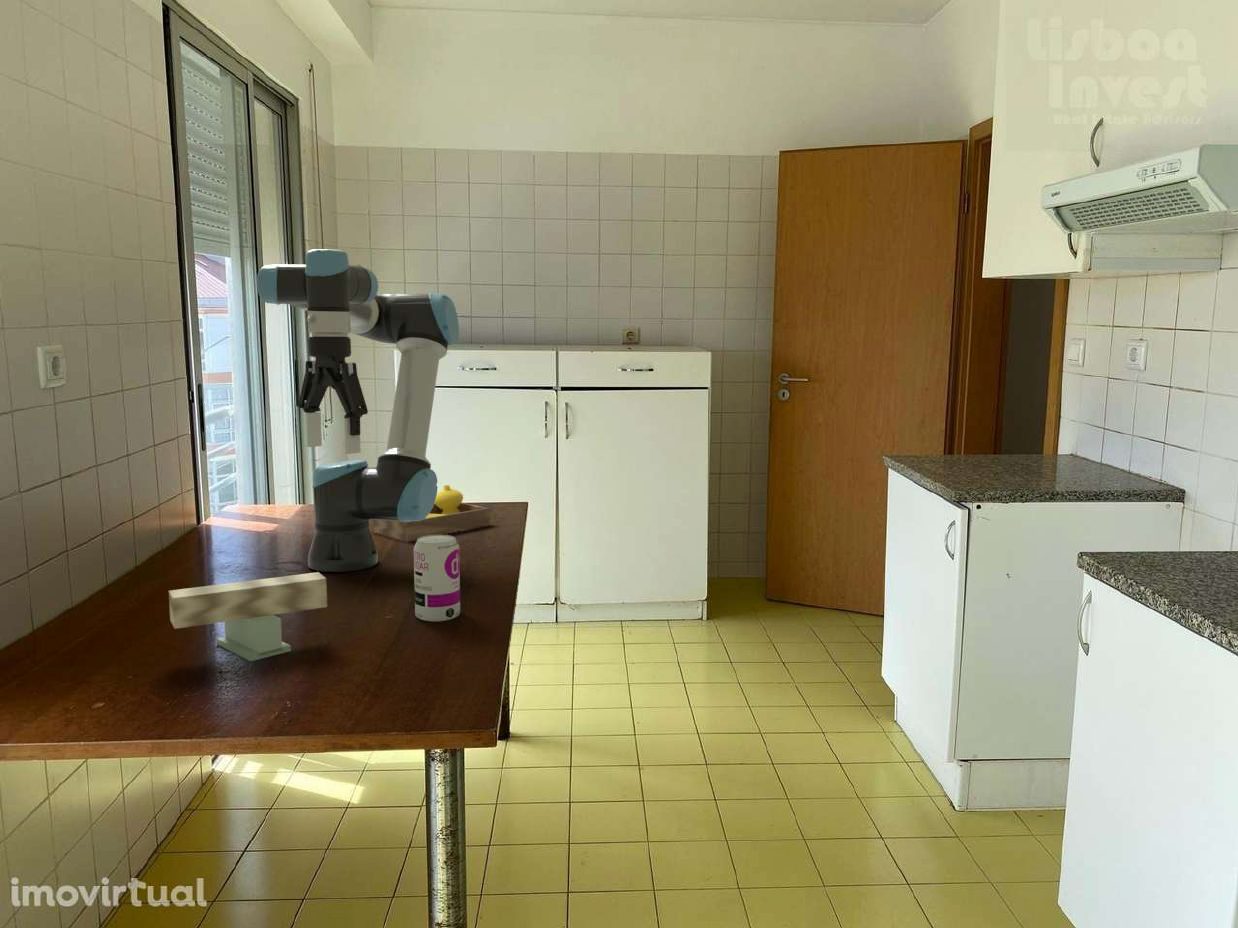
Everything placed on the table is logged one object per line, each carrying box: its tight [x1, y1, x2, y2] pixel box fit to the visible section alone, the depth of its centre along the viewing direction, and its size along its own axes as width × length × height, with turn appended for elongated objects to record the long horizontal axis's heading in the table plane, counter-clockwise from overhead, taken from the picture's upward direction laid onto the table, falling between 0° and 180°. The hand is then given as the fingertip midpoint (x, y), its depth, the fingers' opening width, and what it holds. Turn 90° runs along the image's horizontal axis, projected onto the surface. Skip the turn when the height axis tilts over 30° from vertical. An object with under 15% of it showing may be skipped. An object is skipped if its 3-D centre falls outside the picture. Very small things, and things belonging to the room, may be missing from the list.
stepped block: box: [216, 614, 292, 662], centre depth 161 cm, size 12×7×6 cm, turn 47°
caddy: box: [370, 502, 491, 543], centre depth 252 cm, size 16×26×6 cm, turn 137°
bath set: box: [426, 484, 464, 518], centre depth 255 cm, size 20×10×11 cm, turn 145°
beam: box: [168, 571, 328, 630], centre depth 161 cm, size 24×5×5 cm, turn 122°
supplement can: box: [413, 534, 461, 622], centre depth 179 cm, size 8×8×15 cm
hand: (333, 449), depth 180 cm, fingers open, 13 cm apart
